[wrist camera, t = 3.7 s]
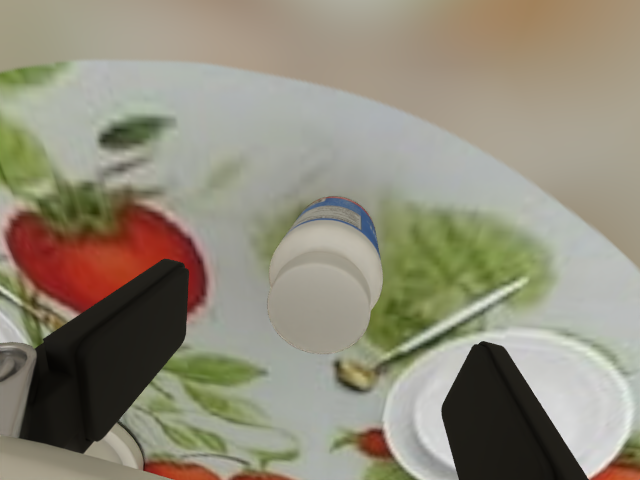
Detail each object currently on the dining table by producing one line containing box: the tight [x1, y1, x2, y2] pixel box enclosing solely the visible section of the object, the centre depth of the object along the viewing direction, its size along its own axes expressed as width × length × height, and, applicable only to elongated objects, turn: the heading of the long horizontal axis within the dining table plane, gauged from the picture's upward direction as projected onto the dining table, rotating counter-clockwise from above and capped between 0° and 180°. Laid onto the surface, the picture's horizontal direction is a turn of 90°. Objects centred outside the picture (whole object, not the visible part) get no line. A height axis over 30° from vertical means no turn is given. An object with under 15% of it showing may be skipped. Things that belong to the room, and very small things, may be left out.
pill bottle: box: [267, 197, 383, 354], centre depth 16 cm, size 6×5×10 cm
